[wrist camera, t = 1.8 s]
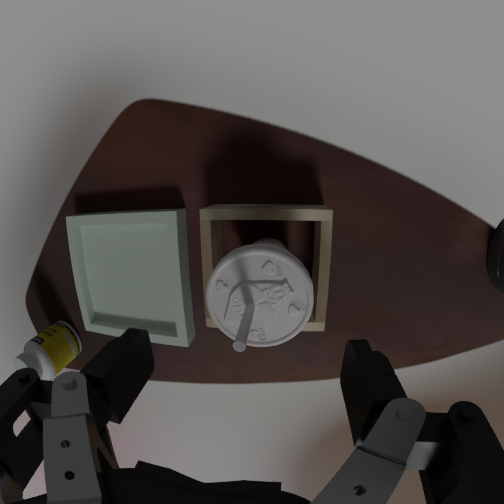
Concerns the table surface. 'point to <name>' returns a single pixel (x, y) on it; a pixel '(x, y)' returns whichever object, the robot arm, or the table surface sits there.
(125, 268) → the tray
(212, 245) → the holder
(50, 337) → the supplement bottle
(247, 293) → the smoothie
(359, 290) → the table surface
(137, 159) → the table surface
